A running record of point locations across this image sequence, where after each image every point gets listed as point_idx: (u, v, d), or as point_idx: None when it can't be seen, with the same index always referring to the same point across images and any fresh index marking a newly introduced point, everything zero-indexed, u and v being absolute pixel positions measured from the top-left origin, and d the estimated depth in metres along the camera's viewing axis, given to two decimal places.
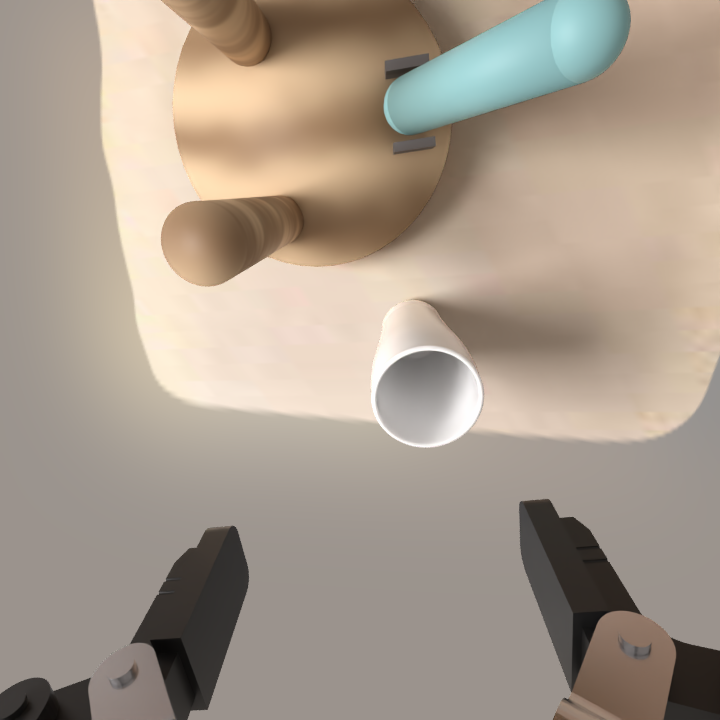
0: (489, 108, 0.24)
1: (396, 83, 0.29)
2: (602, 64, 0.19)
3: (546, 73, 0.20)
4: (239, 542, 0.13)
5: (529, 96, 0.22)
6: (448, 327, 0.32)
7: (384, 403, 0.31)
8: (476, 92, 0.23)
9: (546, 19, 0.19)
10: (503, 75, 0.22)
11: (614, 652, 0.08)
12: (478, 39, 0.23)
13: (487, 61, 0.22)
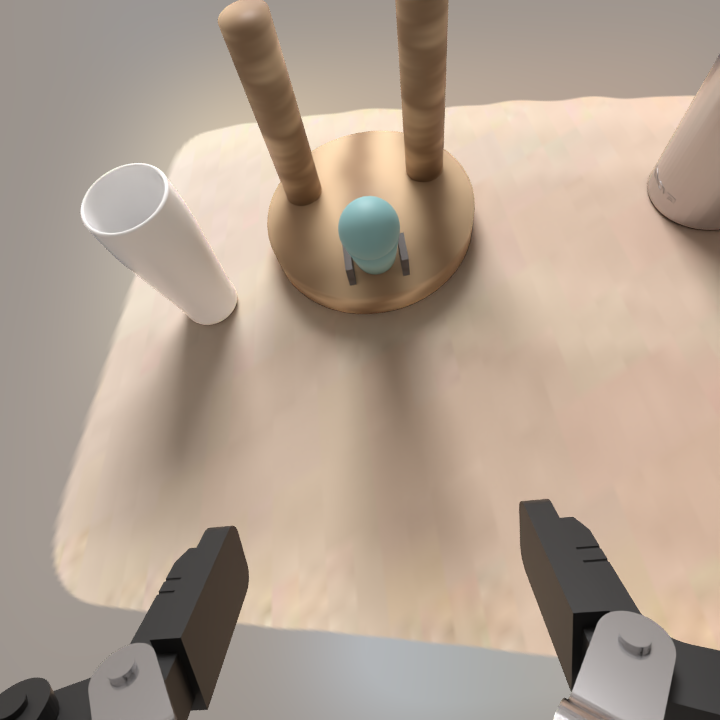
0: None
1: None
2: (343, 228, 0.26)
3: None
4: (239, 542, 0.13)
5: None
6: (195, 270, 0.38)
7: (133, 203, 0.37)
8: None
9: None
10: None
11: (614, 652, 0.08)
12: None
13: None
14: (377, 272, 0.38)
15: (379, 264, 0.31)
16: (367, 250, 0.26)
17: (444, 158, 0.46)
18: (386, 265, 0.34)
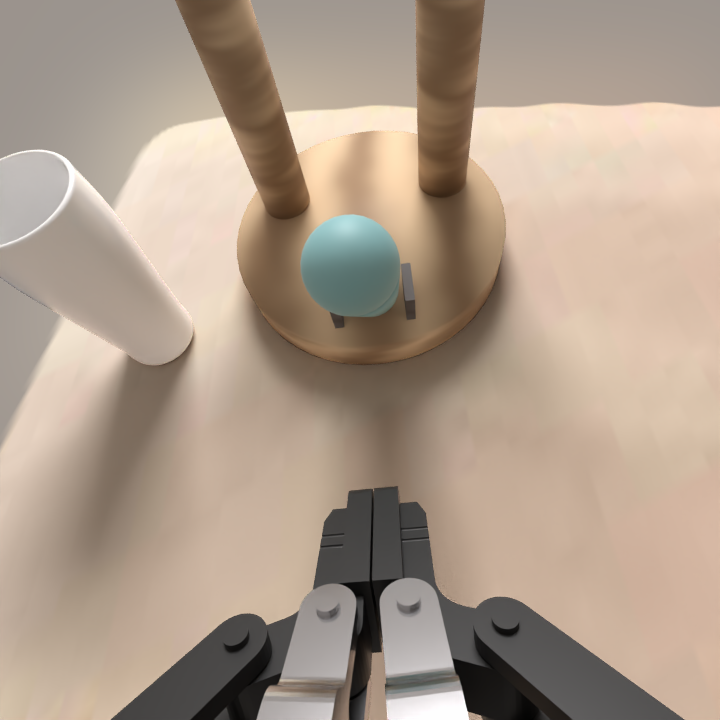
0: None
1: None
2: (307, 266, 0.16)
3: None
4: None
5: None
6: (122, 300, 0.27)
7: (42, 205, 0.27)
8: None
9: None
10: None
11: (400, 620, 0.09)
12: None
13: None
14: None
15: (369, 315, 0.21)
16: (343, 303, 0.16)
17: (468, 168, 0.36)
18: (381, 312, 0.24)
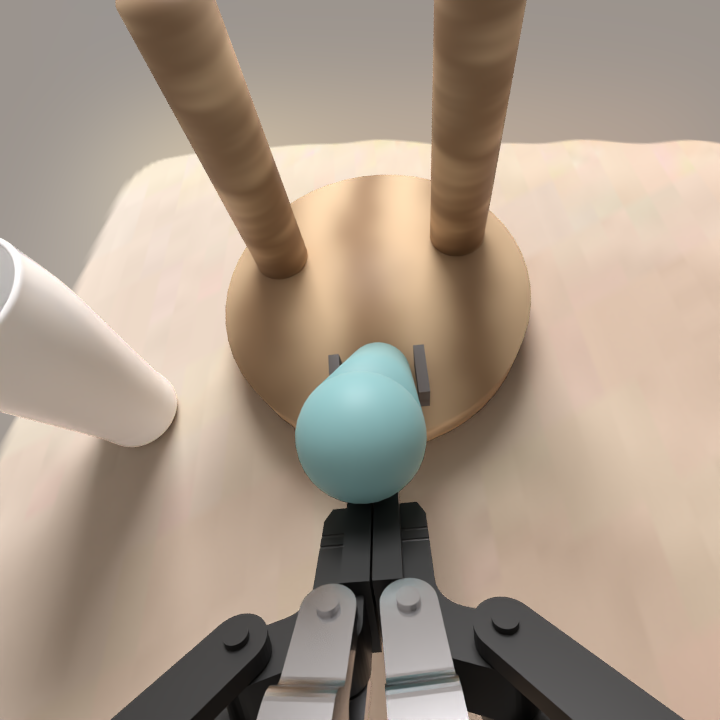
0: None
1: (396, 348, 0.25)
2: (303, 449, 0.12)
3: None
4: None
5: None
6: (88, 398, 0.23)
7: None
8: (339, 366, 0.18)
9: (376, 371, 0.13)
10: (339, 368, 0.16)
11: (400, 620, 0.09)
12: (400, 366, 0.17)
13: (363, 358, 0.16)
14: None
15: None
16: (353, 499, 0.12)
17: (486, 221, 0.32)
18: None
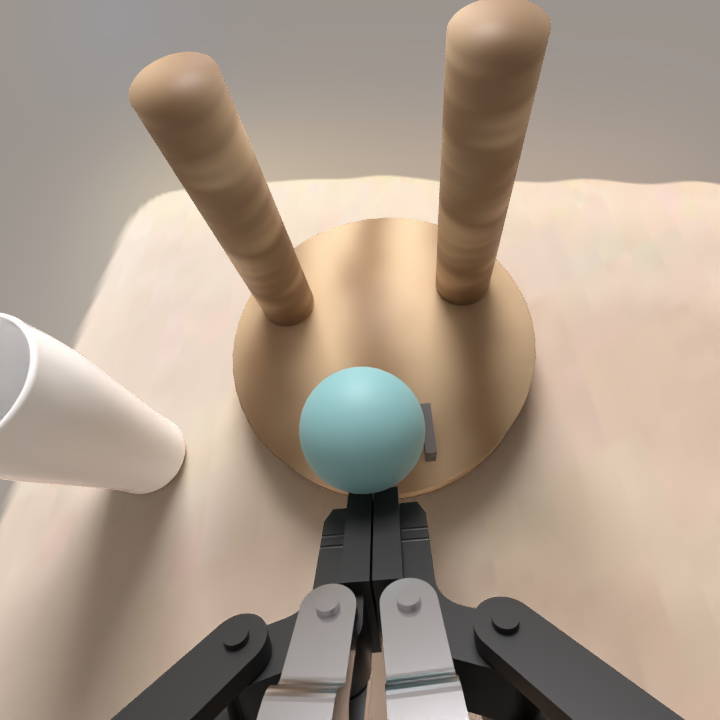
0: None
1: None
2: (306, 430, 0.12)
3: None
4: None
5: None
6: (101, 462, 0.24)
7: (5, 356, 0.23)
8: None
9: None
10: None
11: (400, 620, 0.09)
12: None
13: None
14: None
15: None
16: (352, 481, 0.12)
17: None
18: None
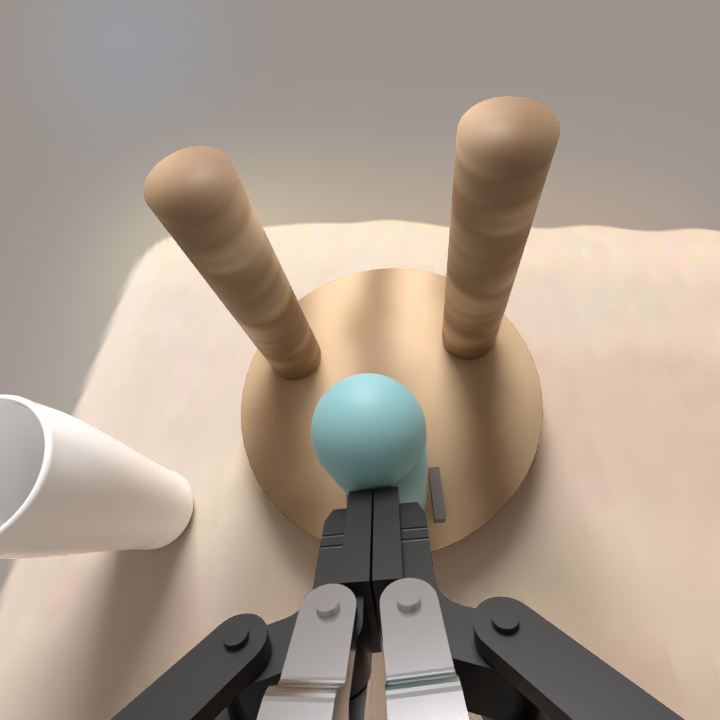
0: None
1: None
2: (317, 422, 0.14)
3: None
4: None
5: None
6: (112, 532, 0.24)
7: (18, 429, 0.23)
8: None
9: None
10: None
11: (400, 620, 0.09)
12: None
13: None
14: None
15: None
16: (357, 466, 0.13)
17: None
18: None
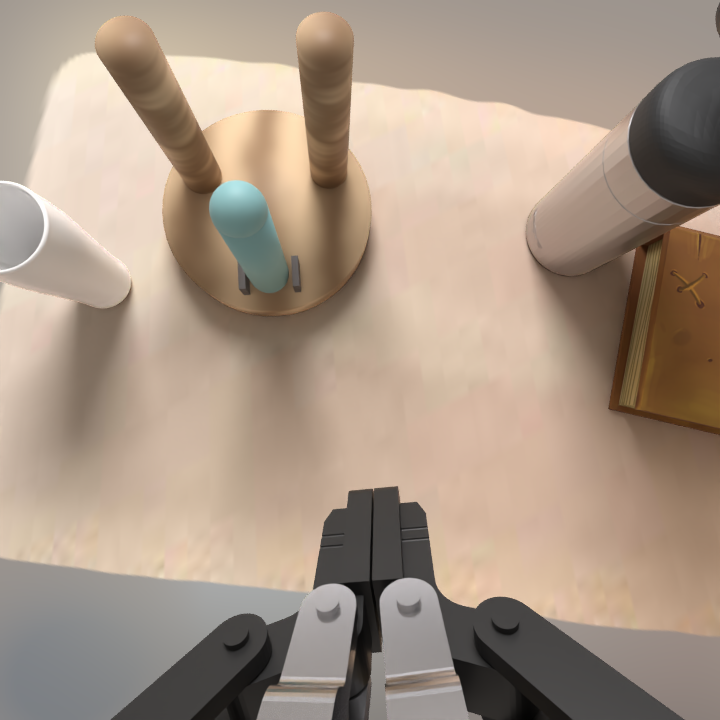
0: None
1: None
2: (212, 202, 0.28)
3: None
4: None
5: None
6: (83, 282, 0.38)
7: (7, 208, 0.35)
8: None
9: None
10: None
11: (400, 619, 0.09)
12: None
13: None
14: (265, 285, 0.39)
15: (255, 258, 0.33)
16: (231, 224, 0.28)
17: (349, 162, 0.46)
18: (268, 271, 0.36)
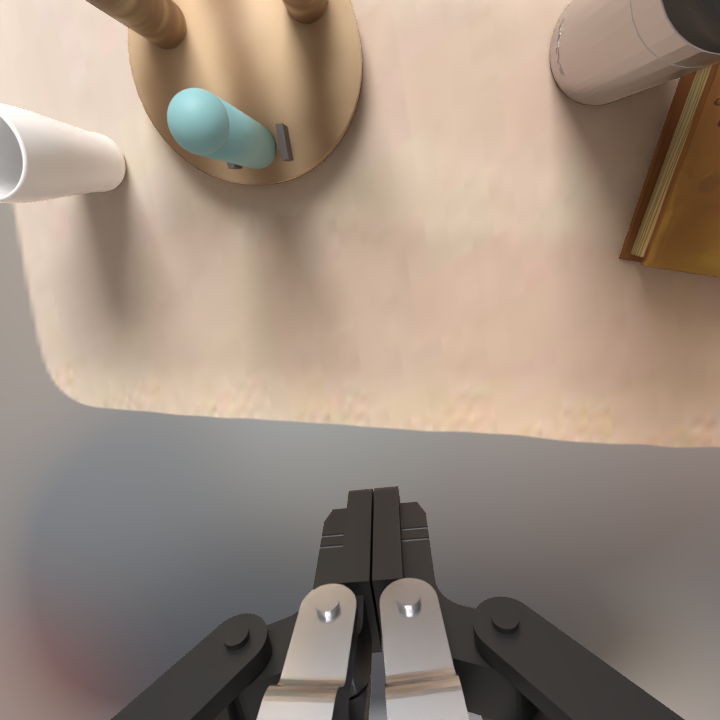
0: None
1: None
2: (169, 122, 0.27)
3: None
4: None
5: None
6: (77, 182, 0.38)
7: None
8: None
9: None
10: None
11: (400, 619, 0.09)
12: (239, 110, 0.32)
13: None
14: (252, 167, 0.38)
15: (230, 159, 0.32)
16: (193, 145, 0.27)
17: None
18: (250, 160, 0.35)
